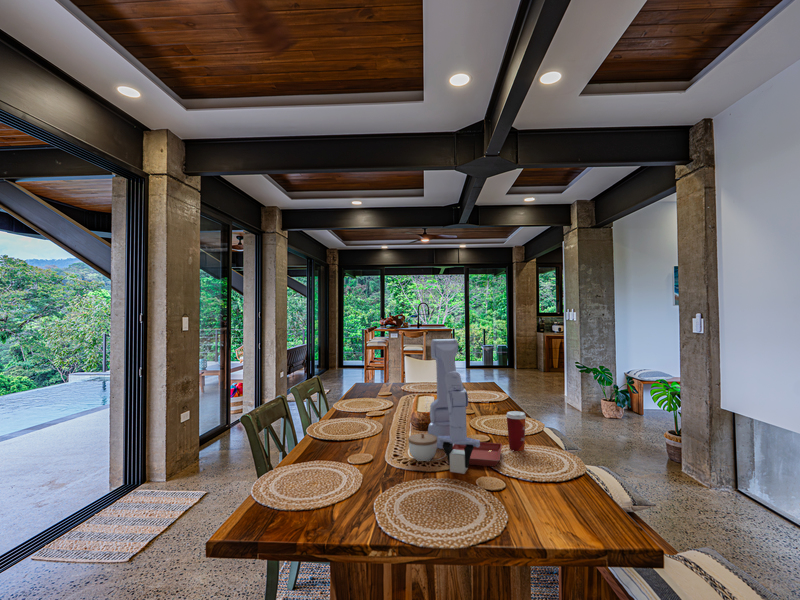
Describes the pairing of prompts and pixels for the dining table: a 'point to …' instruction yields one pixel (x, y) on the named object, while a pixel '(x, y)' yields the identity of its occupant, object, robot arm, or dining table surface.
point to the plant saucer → (483, 453)
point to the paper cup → (516, 430)
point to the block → (457, 461)
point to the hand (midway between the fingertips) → (458, 465)
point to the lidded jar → (422, 446)
